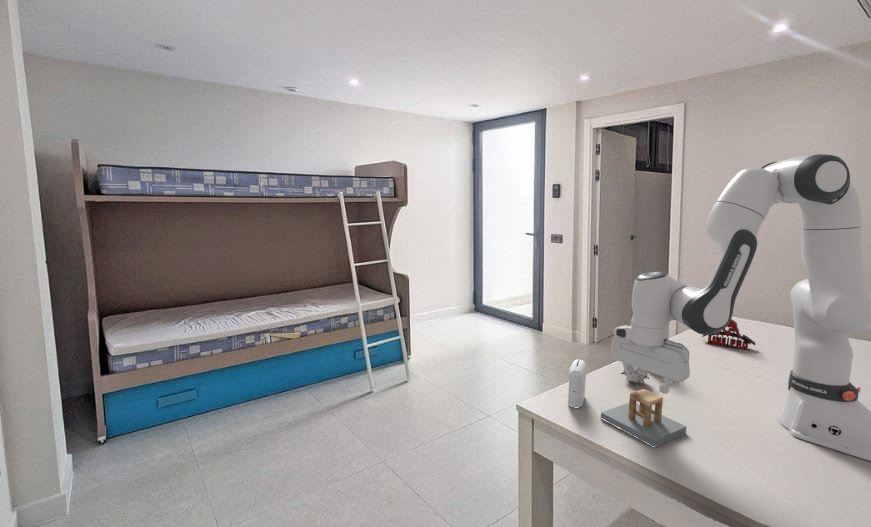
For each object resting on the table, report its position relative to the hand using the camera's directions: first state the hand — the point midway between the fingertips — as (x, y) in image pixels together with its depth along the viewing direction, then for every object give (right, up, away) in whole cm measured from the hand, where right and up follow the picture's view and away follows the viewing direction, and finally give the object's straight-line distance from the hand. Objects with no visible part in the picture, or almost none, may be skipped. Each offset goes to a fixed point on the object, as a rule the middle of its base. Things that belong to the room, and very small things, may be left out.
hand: (646, 385), depth 114 cm
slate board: (0, -11, +2) cm, 12 cm away
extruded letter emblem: (+64, -2, +64) cm, 91 cm away
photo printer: (-13, -10, +16) cm, 23 cm away
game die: (+10, -7, +29) cm, 32 cm away
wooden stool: (0, -9, +1) cm, 10 cm away
